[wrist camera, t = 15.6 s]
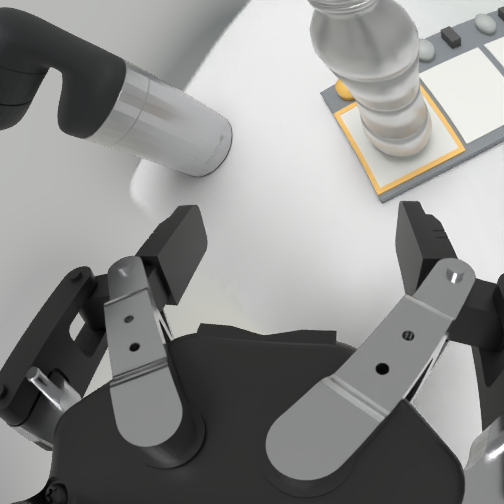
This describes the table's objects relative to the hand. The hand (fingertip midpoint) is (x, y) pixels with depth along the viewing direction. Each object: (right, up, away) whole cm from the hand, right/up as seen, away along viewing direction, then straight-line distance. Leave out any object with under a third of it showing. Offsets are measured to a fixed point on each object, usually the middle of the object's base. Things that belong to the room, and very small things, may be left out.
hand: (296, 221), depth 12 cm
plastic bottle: (+13, +10, +14) cm, 21 cm away
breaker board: (+21, +16, +11) cm, 28 cm away
